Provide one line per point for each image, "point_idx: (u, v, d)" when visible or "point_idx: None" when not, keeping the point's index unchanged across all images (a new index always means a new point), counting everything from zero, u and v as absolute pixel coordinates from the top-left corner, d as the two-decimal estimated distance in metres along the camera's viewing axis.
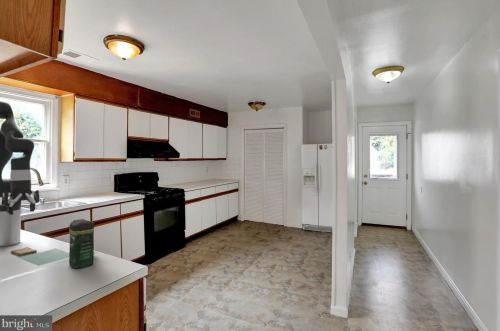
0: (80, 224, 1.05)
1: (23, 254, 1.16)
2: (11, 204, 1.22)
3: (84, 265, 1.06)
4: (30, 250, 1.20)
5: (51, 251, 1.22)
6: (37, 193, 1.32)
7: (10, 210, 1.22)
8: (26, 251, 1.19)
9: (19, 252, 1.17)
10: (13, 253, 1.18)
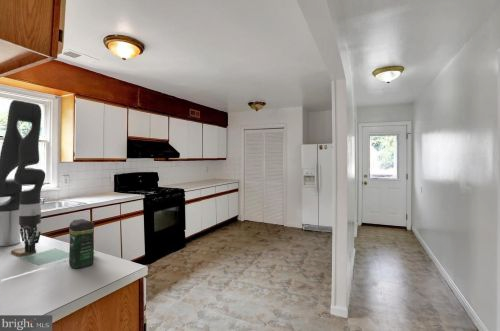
0: (80, 224, 1.05)
1: (22, 254, 1.16)
2: None
3: (84, 265, 1.06)
4: None
5: (51, 251, 1.22)
6: None
7: (34, 247, 1.17)
8: None
9: (19, 252, 1.17)
10: (13, 252, 1.18)
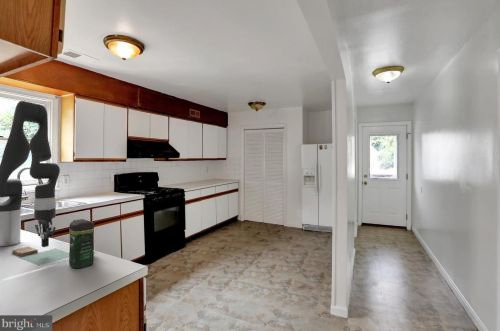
0: (80, 224, 1.05)
1: (24, 253, 1.16)
2: None
3: (84, 265, 1.06)
4: (31, 249, 1.20)
5: (51, 251, 1.22)
6: None
7: None
8: (27, 250, 1.18)
9: (20, 251, 1.17)
10: (14, 252, 1.18)
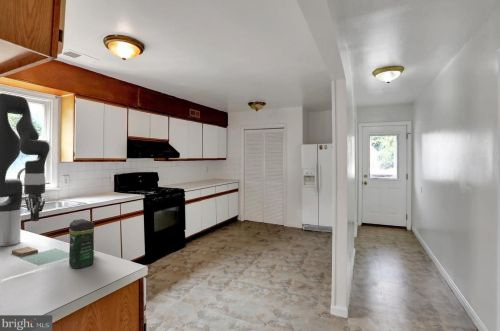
0: (80, 224, 1.05)
1: (24, 253, 1.16)
2: None
3: (84, 265, 1.06)
4: (31, 249, 1.20)
5: (51, 251, 1.22)
6: None
7: (38, 216, 1.21)
8: (27, 250, 1.18)
9: (20, 251, 1.17)
10: (14, 253, 1.18)
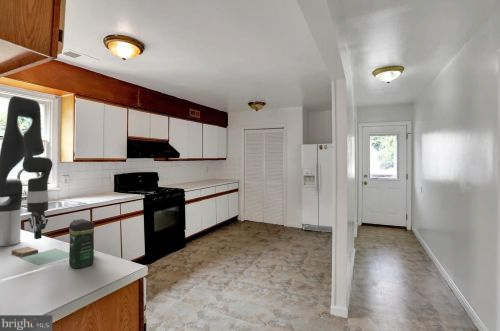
0: (80, 224, 1.05)
1: (25, 253, 1.16)
2: None
3: (84, 265, 1.06)
4: (31, 249, 1.20)
5: (51, 251, 1.22)
6: None
7: (41, 234, 1.20)
8: (27, 250, 1.18)
9: (20, 251, 1.17)
10: (14, 253, 1.18)
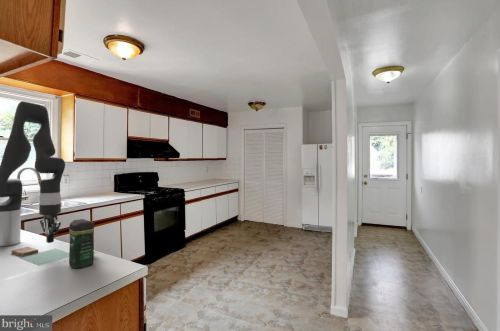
0: (80, 224, 1.05)
1: (25, 253, 1.16)
2: None
3: (84, 265, 1.06)
4: (31, 249, 1.20)
5: (51, 251, 1.22)
6: None
7: None
8: (28, 250, 1.18)
9: (21, 252, 1.17)
10: (14, 253, 1.18)
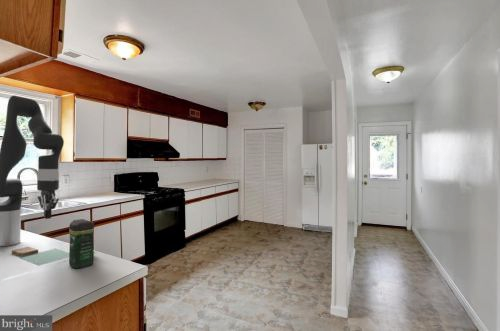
0: (80, 224, 1.05)
1: (25, 253, 1.16)
2: None
3: (84, 265, 1.06)
4: (31, 249, 1.20)
5: (51, 251, 1.22)
6: None
7: (50, 213, 1.16)
8: (28, 250, 1.18)
9: (20, 252, 1.17)
10: (14, 253, 1.18)
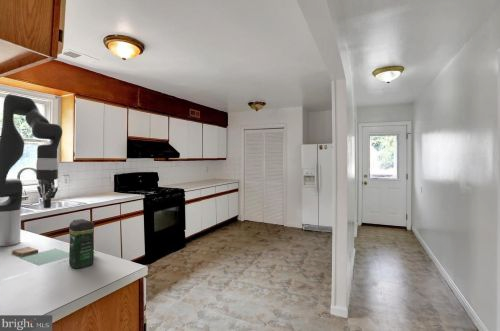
0: (80, 224, 1.05)
1: (25, 253, 1.16)
2: None
3: (84, 265, 1.06)
4: (31, 249, 1.20)
5: (51, 251, 1.22)
6: None
7: None
8: (27, 250, 1.18)
9: (20, 252, 1.17)
10: (14, 253, 1.18)
